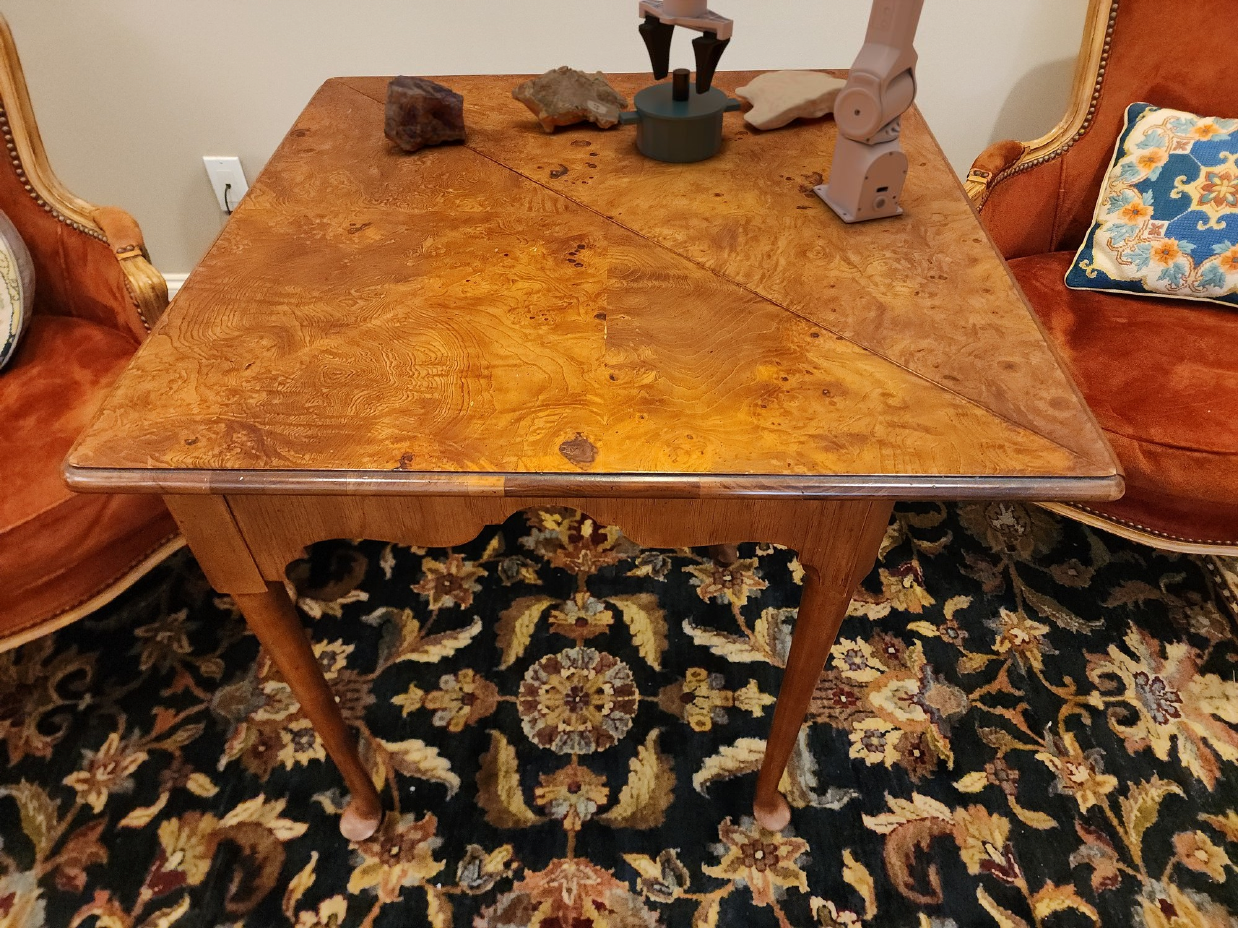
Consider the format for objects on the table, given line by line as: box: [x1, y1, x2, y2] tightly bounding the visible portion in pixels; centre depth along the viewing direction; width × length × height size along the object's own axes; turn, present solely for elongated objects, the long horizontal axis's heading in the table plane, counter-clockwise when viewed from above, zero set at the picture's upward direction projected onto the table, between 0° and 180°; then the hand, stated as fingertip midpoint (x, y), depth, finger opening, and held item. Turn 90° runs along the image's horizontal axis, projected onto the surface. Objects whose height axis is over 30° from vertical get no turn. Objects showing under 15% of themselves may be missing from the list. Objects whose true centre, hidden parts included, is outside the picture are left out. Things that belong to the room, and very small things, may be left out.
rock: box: [383, 74, 467, 152], centre depth 110 cm, size 12×9×10 cm
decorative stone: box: [734, 69, 847, 131], centre depth 118 cm, size 21×5×15 cm
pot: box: [618, 97, 742, 164], centre depth 109 cm, size 12×18×6 cm
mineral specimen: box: [511, 65, 629, 134], centre depth 115 cm, size 13×7×15 cm
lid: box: [633, 67, 729, 121], centre depth 105 cm, size 13×13×5 cm
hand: (681, 85), depth 105 cm, fingers open, 7 cm apart
